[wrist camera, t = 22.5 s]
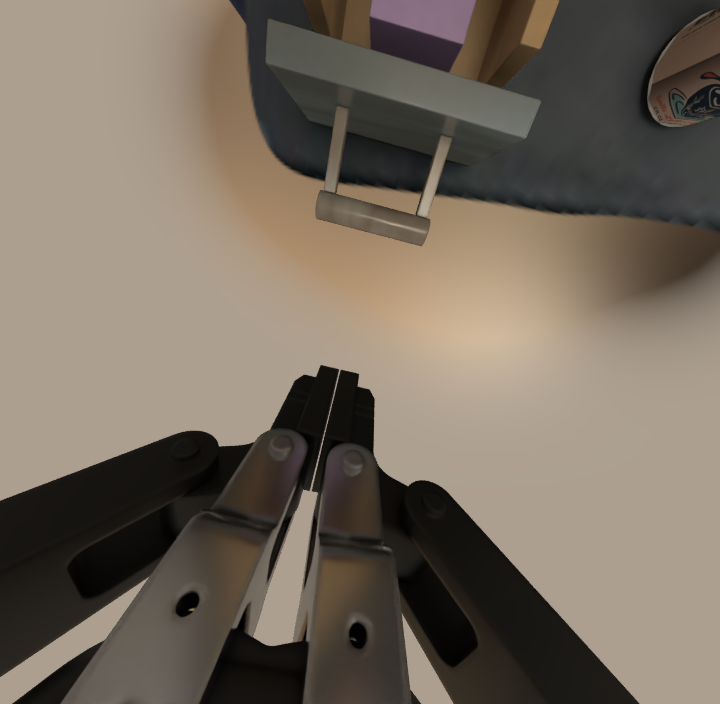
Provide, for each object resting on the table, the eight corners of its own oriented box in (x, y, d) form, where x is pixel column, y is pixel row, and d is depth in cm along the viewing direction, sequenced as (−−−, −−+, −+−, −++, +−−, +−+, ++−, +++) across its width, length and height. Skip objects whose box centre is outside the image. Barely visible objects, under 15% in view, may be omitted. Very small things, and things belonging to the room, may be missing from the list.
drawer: (441, 246, 19) (474, 264, 13) (298, 209, 19) (257, 207, 12) (608, -224, 11) (938, -847, 5) (359, -318, 10) (329, -1183, 4)
